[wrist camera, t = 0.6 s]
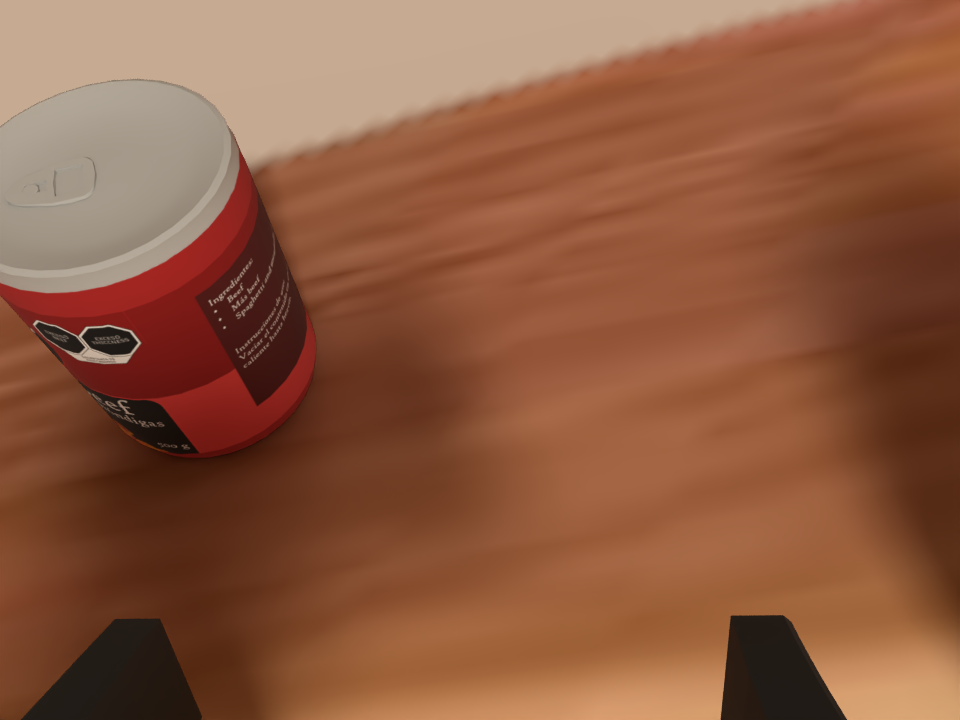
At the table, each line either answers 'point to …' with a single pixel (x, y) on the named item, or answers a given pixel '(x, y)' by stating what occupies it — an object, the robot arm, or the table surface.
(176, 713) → the robot arm
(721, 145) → the table surface
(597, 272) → the table surface
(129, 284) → the canned food
